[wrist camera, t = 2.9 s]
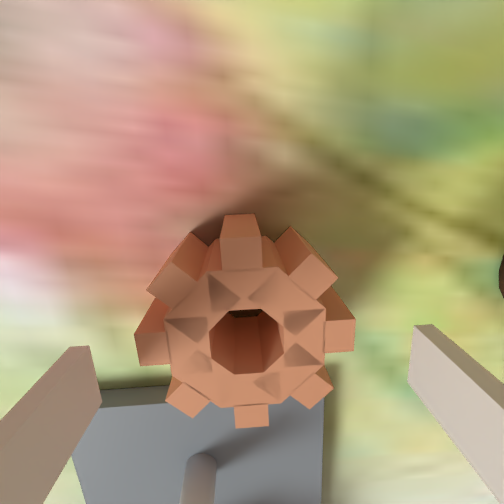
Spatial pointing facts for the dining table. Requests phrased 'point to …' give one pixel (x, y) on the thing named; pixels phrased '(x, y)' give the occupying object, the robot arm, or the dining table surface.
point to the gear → (244, 322)
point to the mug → (501, 277)
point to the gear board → (198, 453)
